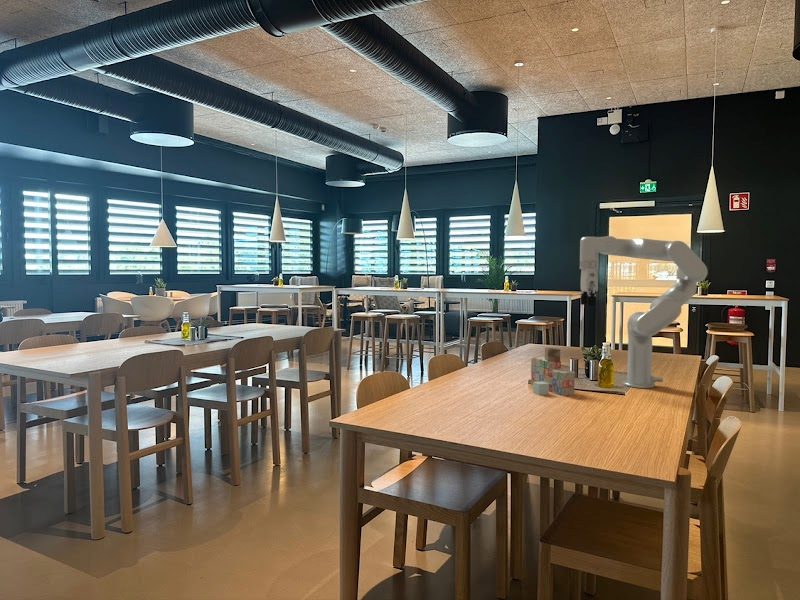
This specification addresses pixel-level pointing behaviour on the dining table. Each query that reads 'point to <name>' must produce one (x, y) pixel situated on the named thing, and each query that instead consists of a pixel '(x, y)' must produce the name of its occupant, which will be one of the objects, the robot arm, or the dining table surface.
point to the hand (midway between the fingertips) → (587, 305)
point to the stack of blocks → (552, 376)
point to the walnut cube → (552, 354)
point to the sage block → (541, 388)
